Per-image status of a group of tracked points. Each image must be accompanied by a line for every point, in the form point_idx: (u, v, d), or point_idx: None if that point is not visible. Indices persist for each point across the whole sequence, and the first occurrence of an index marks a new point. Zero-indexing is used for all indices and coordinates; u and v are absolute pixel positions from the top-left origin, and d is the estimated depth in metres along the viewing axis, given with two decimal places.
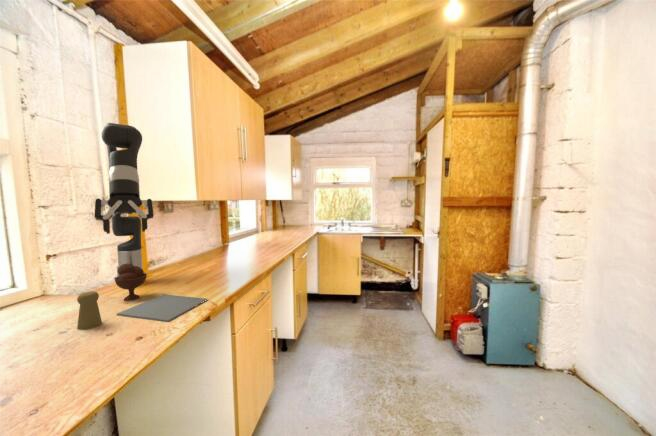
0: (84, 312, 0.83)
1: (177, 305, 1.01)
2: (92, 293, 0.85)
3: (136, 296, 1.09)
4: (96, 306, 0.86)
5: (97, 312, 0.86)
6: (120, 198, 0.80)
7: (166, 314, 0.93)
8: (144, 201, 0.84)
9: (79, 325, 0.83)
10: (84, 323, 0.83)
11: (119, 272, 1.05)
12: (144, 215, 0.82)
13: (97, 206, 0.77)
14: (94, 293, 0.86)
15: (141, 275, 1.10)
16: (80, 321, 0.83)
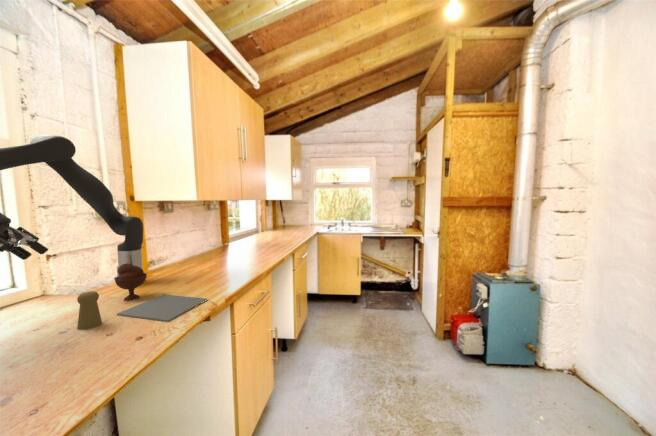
0: (84, 312, 0.83)
1: (177, 305, 1.01)
2: (92, 293, 0.85)
3: (136, 296, 1.09)
4: (96, 306, 0.86)
5: (97, 312, 0.86)
6: None
7: (166, 314, 0.93)
8: None
9: (79, 325, 0.83)
10: (84, 323, 0.83)
11: (119, 272, 1.05)
12: None
13: None
14: (94, 293, 0.86)
15: (141, 275, 1.10)
16: (80, 321, 0.83)
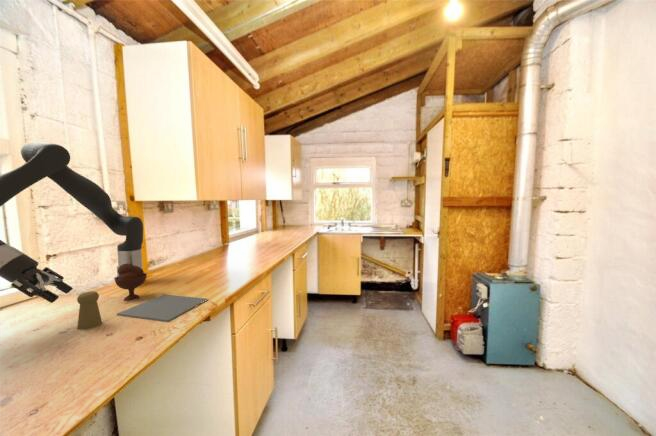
0: (84, 312, 0.83)
1: (177, 305, 1.01)
2: (92, 293, 0.85)
3: (136, 296, 1.09)
4: (96, 306, 0.86)
5: (97, 312, 0.86)
6: None
7: (166, 314, 0.93)
8: None
9: (79, 325, 0.83)
10: (84, 323, 0.83)
11: (119, 272, 1.05)
12: None
13: None
14: (94, 293, 0.86)
15: (141, 275, 1.10)
16: (80, 321, 0.83)
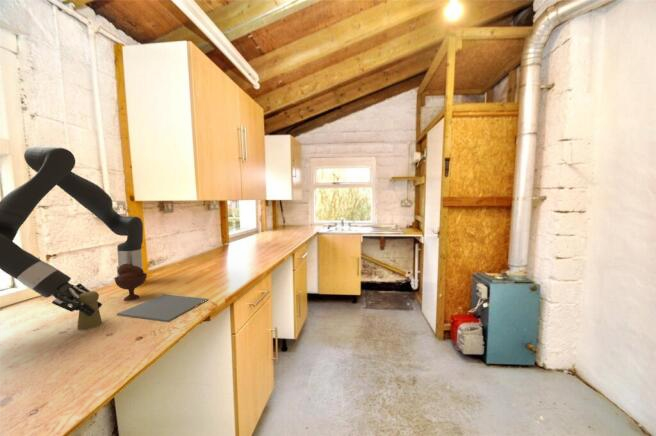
0: None
1: (177, 305, 1.01)
2: (92, 293, 0.85)
3: (136, 296, 1.09)
4: (96, 306, 0.86)
5: (97, 312, 0.86)
6: None
7: (166, 314, 0.93)
8: None
9: (79, 325, 0.83)
10: (84, 323, 0.83)
11: (119, 272, 1.05)
12: None
13: None
14: (94, 293, 0.86)
15: (141, 275, 1.10)
16: (80, 321, 0.83)
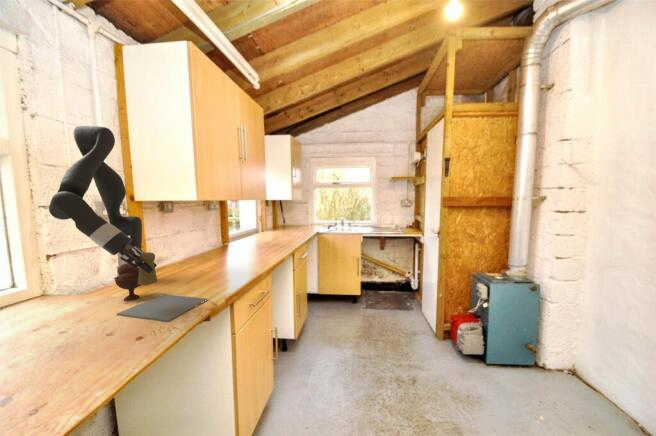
0: None
1: (177, 305, 1.01)
2: (150, 253, 0.96)
3: (136, 296, 1.09)
4: (153, 265, 0.96)
5: (154, 270, 0.97)
6: None
7: (166, 314, 0.93)
8: None
9: (140, 281, 0.94)
10: (144, 279, 0.94)
11: (119, 272, 1.05)
12: None
13: None
14: (152, 253, 0.96)
15: None
16: (140, 277, 0.94)
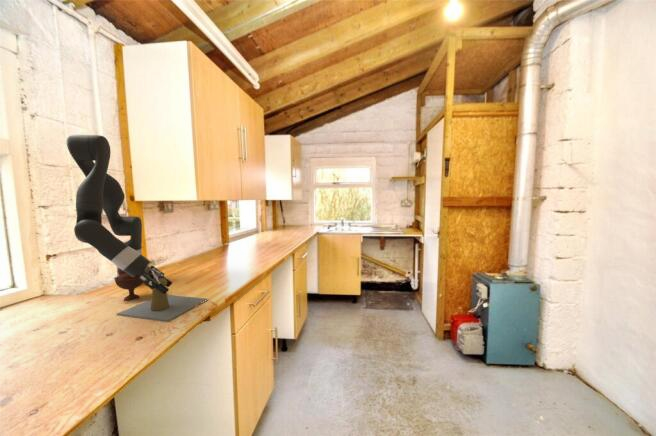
0: (157, 295, 0.96)
1: (177, 305, 1.01)
2: (162, 279, 0.98)
3: (136, 296, 1.09)
4: None
5: (166, 296, 0.99)
6: None
7: (166, 314, 0.93)
8: None
9: (152, 307, 0.96)
10: (157, 305, 0.96)
11: (119, 272, 1.05)
12: None
13: None
14: (164, 279, 0.98)
15: None
16: (153, 303, 0.96)
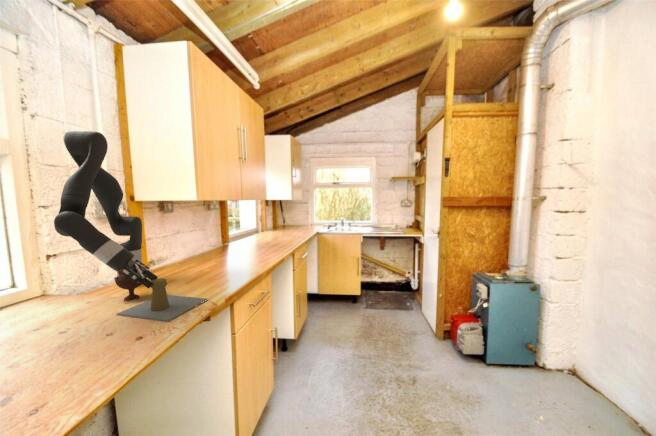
0: (157, 296, 0.96)
1: (177, 305, 1.01)
2: (162, 279, 0.98)
3: (136, 296, 1.09)
4: (165, 291, 0.99)
5: (166, 296, 0.99)
6: None
7: (166, 314, 0.93)
8: None
9: (152, 307, 0.96)
10: (157, 305, 0.96)
11: (119, 272, 1.05)
12: None
13: None
14: (164, 279, 0.98)
15: None
16: (153, 303, 0.96)
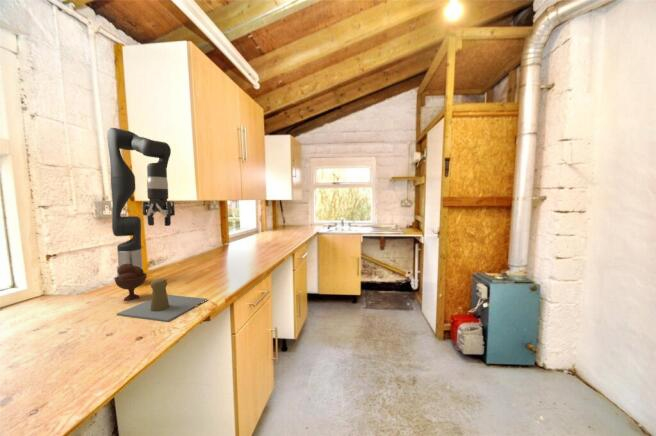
0: (157, 296, 0.96)
1: (177, 305, 1.01)
2: (162, 280, 0.98)
3: (136, 296, 1.09)
4: (165, 291, 0.98)
5: (166, 296, 0.99)
6: (154, 201, 1.12)
7: (166, 314, 0.93)
8: (167, 203, 1.11)
9: (152, 307, 0.96)
10: (157, 306, 0.96)
11: (119, 272, 1.05)
12: (165, 215, 1.11)
13: (143, 207, 1.13)
14: (164, 280, 0.98)
15: (141, 275, 1.10)
16: (153, 304, 0.96)
